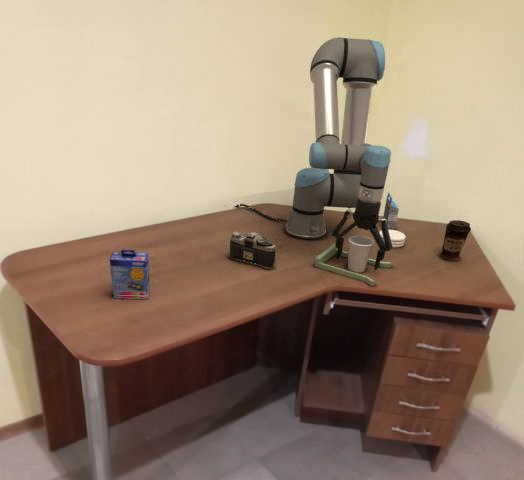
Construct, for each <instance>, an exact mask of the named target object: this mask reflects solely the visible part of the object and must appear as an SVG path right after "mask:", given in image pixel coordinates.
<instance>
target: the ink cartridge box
mask: <svg viewBox="0 0 524 480" xmlns="http://www.w3.org/2000/svg"><path fill="white" fill-rule="evenodd" d="M109 257H110V258H109V266H110V278H111V287H112V298H113V299H121V300H122V299H123V300H148V299H149V298H150V295H151V281H150V279H151V277H150V265H149V264H150V260H149V253H148V252H143V251H142V252H137V251H136V250H135V249H120V251H112V252H111V255H110V256H109ZM149 290H150V292H149ZM148 293H149V295H148ZM113 295H148V296H147V297H140V296H113Z"/></svg>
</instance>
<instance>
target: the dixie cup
mask: <svg viewBox="0 0 524 480" xmlns="http://www.w3.org/2000/svg"><path fill="white" fill-rule="evenodd" d="M374 245H375V241H374V240H373V239H372V238H370V237H368V236H366V235H352V236H350V237H348V257H347V269H348V271H351V272H354V273H363V272H364V271H366V268H367V264H368V263H367V261H368V258H370V257H371V253H372V250H373V246H374Z"/></svg>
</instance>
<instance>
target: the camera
mask: <svg viewBox="0 0 524 480" xmlns="http://www.w3.org/2000/svg"><path fill="white" fill-rule="evenodd" d="M229 240H230V241H229V258H230V259H231V260H235V261H238V262H242V263H245V264H248V265H249V264H250V265H255V266H256V267H257V266H259V267H261V268H264V269H268V270H269V269H273V268H274V265H275V264H276V263H275V262H276V253H277V251H276V245H275V244H274V243H272V241H271V240H269V239H267V237H266V236H263V235H262V234H259V233H257V232H254V231H251V232H249V233H247V235H246V236H243V235H241V233H240V232H238V231H234V232H233V233H232V235H231V236H230V238H229ZM244 260H245V261H244ZM251 262H252V263H251ZM255 263H256V264H255Z"/></svg>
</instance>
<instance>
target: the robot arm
mask: <svg viewBox="0 0 524 480" xmlns="http://www.w3.org/2000/svg"><path fill="white" fill-rule="evenodd" d="M385 69H386V51H385V47H384V45H383V43H381V41H379V40H373V39H370V38H368V39H365V38H364V39H363V38H351V37H350V38H349V37H340V36H337V37H333V38H330V39H328V40H327V41H325V42H324V43H323V44H321V45H320V46H319V48H318V49H317V50H316V51H315V53H314V55H313V58H312V59H311V62H310V67H309V76H310V77H309V78H310V82H312V84H313V105H314V107H313V108H314V133H315V134H314V135H315V136H314V137H315V142H312V143H311V144H310V147H309V152H308V164H309V167H305V168H302V169H300V170H298V171H297V173H296V175H295V180H294V181H295V182H294V188H293V189H294V190H293V199H292V208H291V212H290V215H289V216H288V219H283V218H276V217H273V218H272V216H269V215H267V214H265V213H263V212H262V211H260V210H259V209H257V210H256V208H254V209H252V208H253V207H252V208H248V207H251V206H250V205H248V204H245V203H239V204H240V206H239V205H238V204H236V205H235V206H234V207H235V208H239V207H245V208H248V209H249V210H252V211H254V212H256V213H257V214H259V215H260V216H263V217H265V218H267V219H269V220H272V221H277V222H284V223H285V228H286V229H285V228H284V231H285V233H286V234H287V235H289V236H290V237H293V238H296V239H301V240H318V239H319V240H320V239H322V238H324V237H325V236H326V231H327V230H326V228H327V227H326V222H325V216H324V210H325V207H326V208H327V207H328V208H345V209H347V210H345V211H344V214H343V217H342V218H341V220H340V221H339V222H338V224H337V225H336V226H335V228H334V229H333V231H332V232H331V237H334V238H335V239H336V240H335V247H336V248H337V254H335V259H336V260H339V259H340V258H341V257H342V256H341V254H342V251H343V248H344V241H345V238H344V236H345V235H346V234H348V233H349V232H350V231H351V230H352V229H354V228H355V227H357V228H358V229H361V230H362V229H363V230H365V231H369V232H370V233H371V235H372V236H373V239H374V240H375V243H376V245H377V246H378V248H379V249H378V250H377V251H376V252H377V254H376V257H375V260H376V262H375V265H374V266H373V271H374V270H375V271H377V270H378V269H379V268H380V267H379V264H380V262H383V261H384V259H385V255H386V252H390V251H391V250H392V249H393V248H392V243H391V239H390V235H389V231H388V230H389V229H388V226H387V225H388V219H383V218H380V211H381V206H382V202H381V201H382V200H383V195H384V192H385V185H386V181H387V176H388V173H389V167H390V164H391V156H392V150H391V149H390V148H389V147H386V146H383V145H377V144H374V145H373V144H371V143H369V142H366V140H367V132H368V125H369V115H370V108H371V107H370V106H371V99H372V91H373V90H374V89H375V88H377V86H378V82H379V81H381V80H382V79H383V77H384V75H385ZM339 78H341V79H342V85H343V87H344V88H345V100H344V111H343V118H342V127H341V128H342V129H341V138H340V121H339V118H340V117H339V100H338V99H339V98H338V80H339ZM330 170H333V173H331V172H330ZM351 209H354V211H352V210H351ZM258 210H259V211H260V212H259V211H258ZM262 213H263V214H262ZM264 214H265V215H264ZM274 218H275V219H274ZM350 218H353V222H352V223H351V224H350V225H348V226H347V227H346V228H345V229H344V230H342V228H343V227H344V226H345V225H346V223H347V221H348V220H349V219H350ZM276 219H277V220H276ZM279 220H280V221H279ZM377 224H379V227H380V229H381V230H380V231H382V234H383V238H384V241H383V239H382V237H381V235H380V233H379V232H380V231H379V229H378V226H377ZM341 230H342V231H341ZM340 231H341V232H340ZM339 232H340V233H339ZM384 242H385V243H384Z"/></svg>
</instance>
